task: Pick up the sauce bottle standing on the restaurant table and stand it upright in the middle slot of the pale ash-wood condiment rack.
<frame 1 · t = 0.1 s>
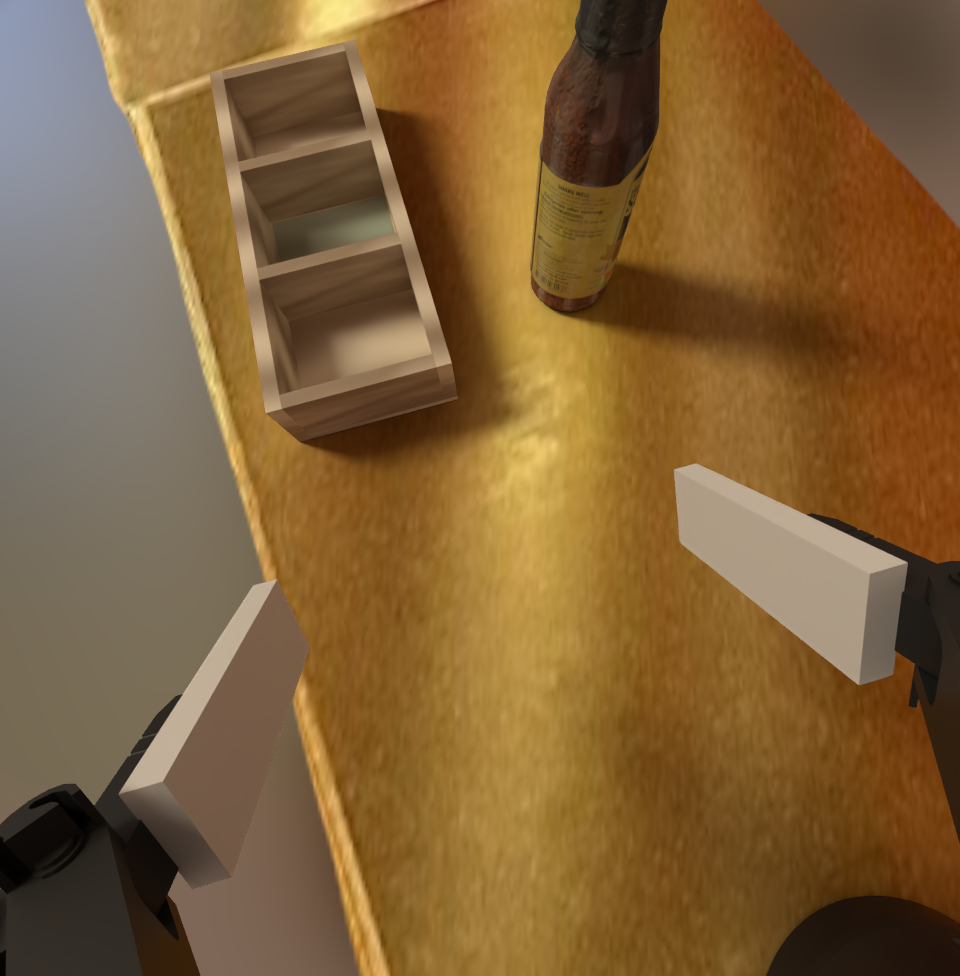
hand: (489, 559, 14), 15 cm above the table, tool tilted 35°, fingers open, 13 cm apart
sauce bottle: (566, 282, 35), on the table
condiment rack: (339, 254, 37), on the table
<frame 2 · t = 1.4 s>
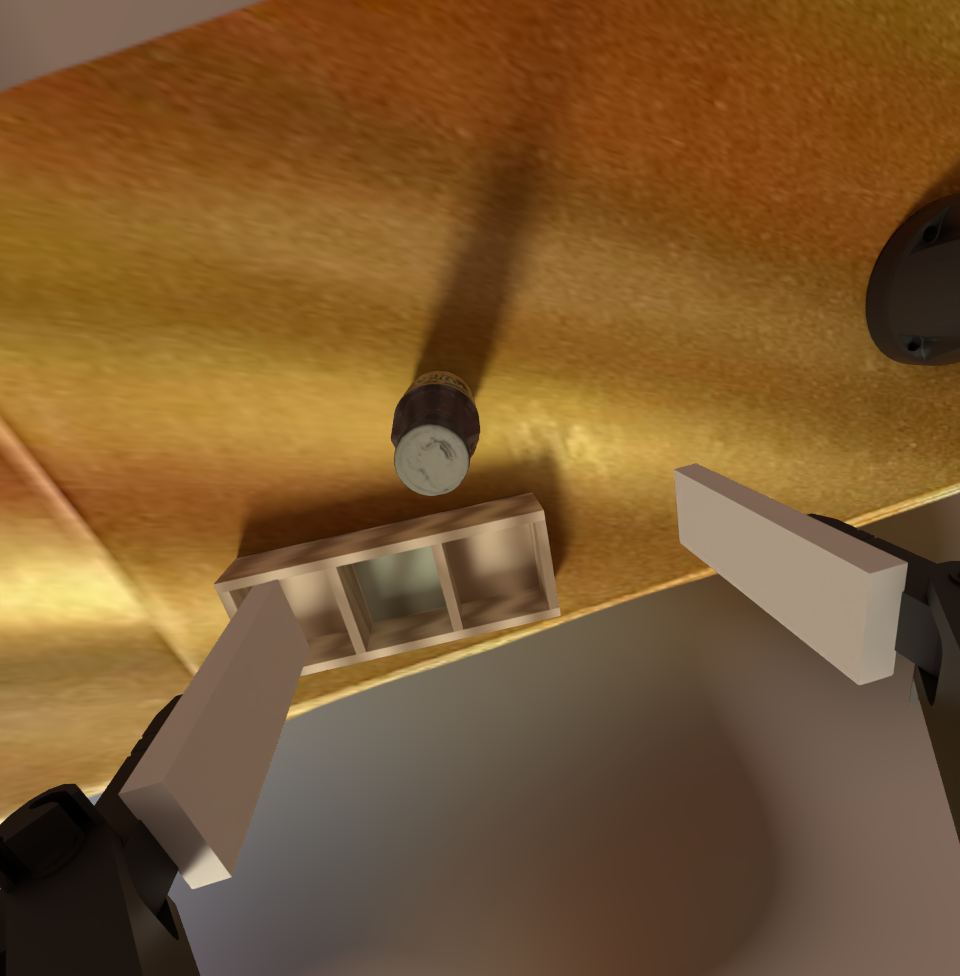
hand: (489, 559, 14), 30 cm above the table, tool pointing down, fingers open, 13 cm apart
sauce bottle: (437, 402, 42), on the table
condiment rack: (400, 574, 47), on the table
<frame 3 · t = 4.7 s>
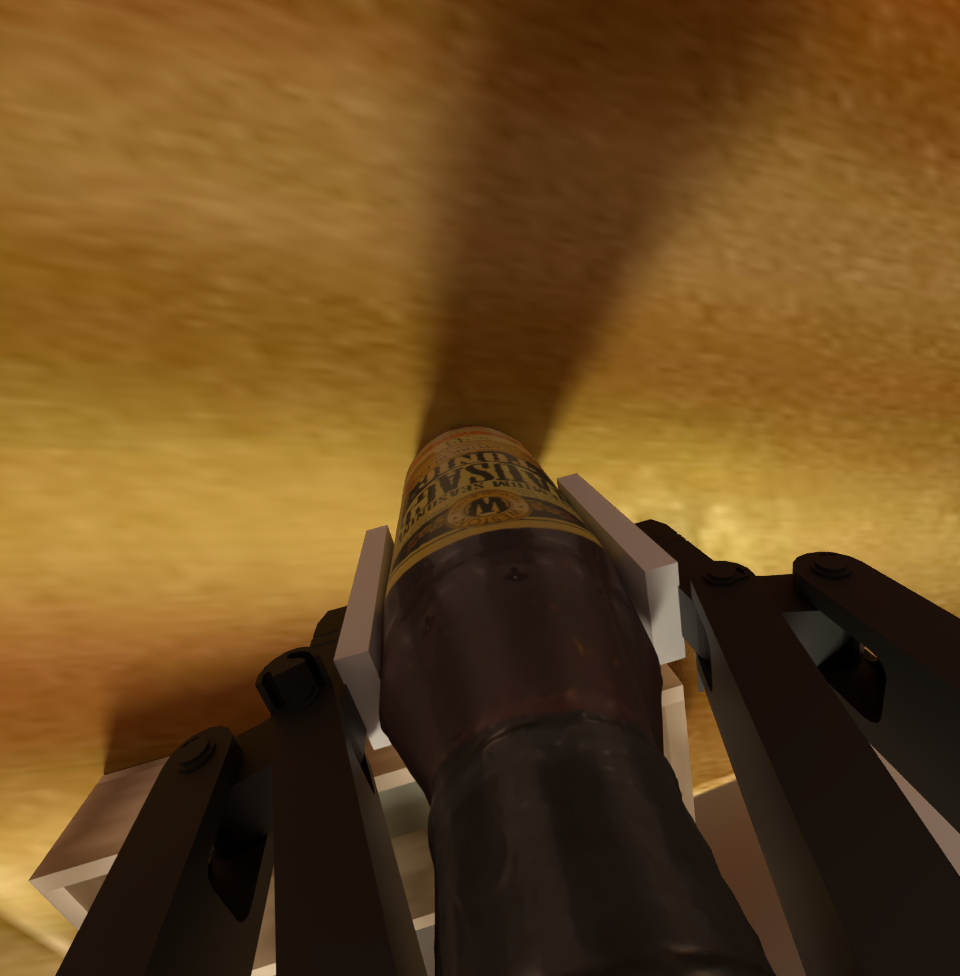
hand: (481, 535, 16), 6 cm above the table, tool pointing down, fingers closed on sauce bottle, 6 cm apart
sauce bottle: (464, 481, 22), on the table, touching gripper
condiment rack: (406, 768, 27), on the table
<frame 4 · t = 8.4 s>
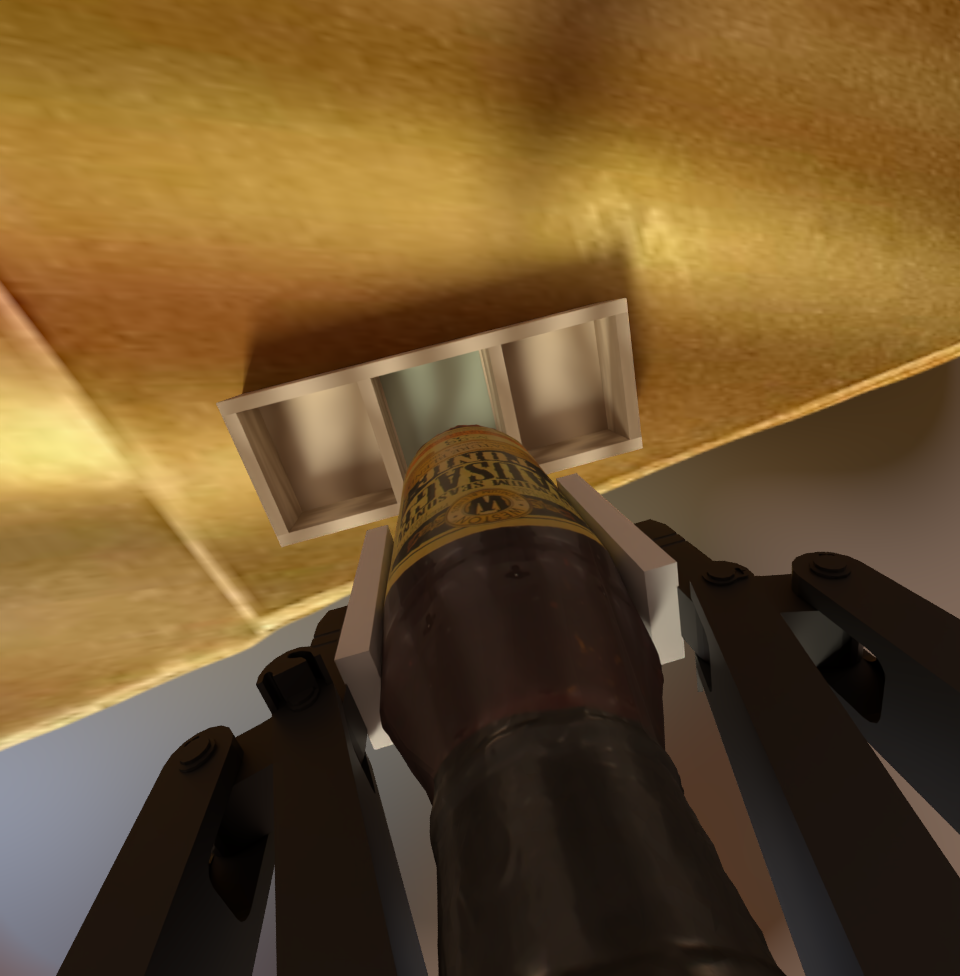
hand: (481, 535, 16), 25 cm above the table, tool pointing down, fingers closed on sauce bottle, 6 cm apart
sauce bottle: (463, 481, 22), point 19 cm above the table, touching gripper
condiment rack: (443, 416, 39), on the table
when the fingers open (8 cm above the table, at t = 12.2 s): sauce bottle drops 1 cm, resting on condiment rack.
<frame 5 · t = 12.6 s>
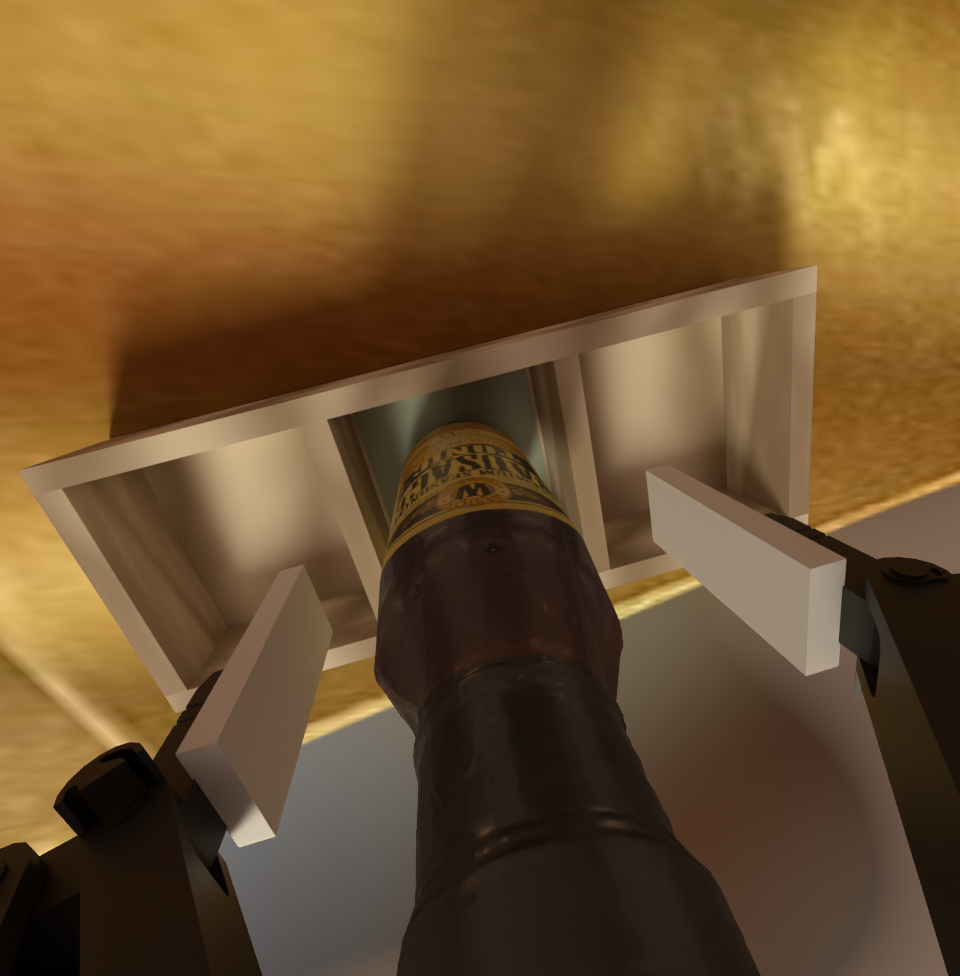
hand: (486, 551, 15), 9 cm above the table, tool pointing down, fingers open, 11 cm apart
sauce bottle: (458, 473, 23), resting on condiment rack
condiment rack: (461, 471, 23), on the table
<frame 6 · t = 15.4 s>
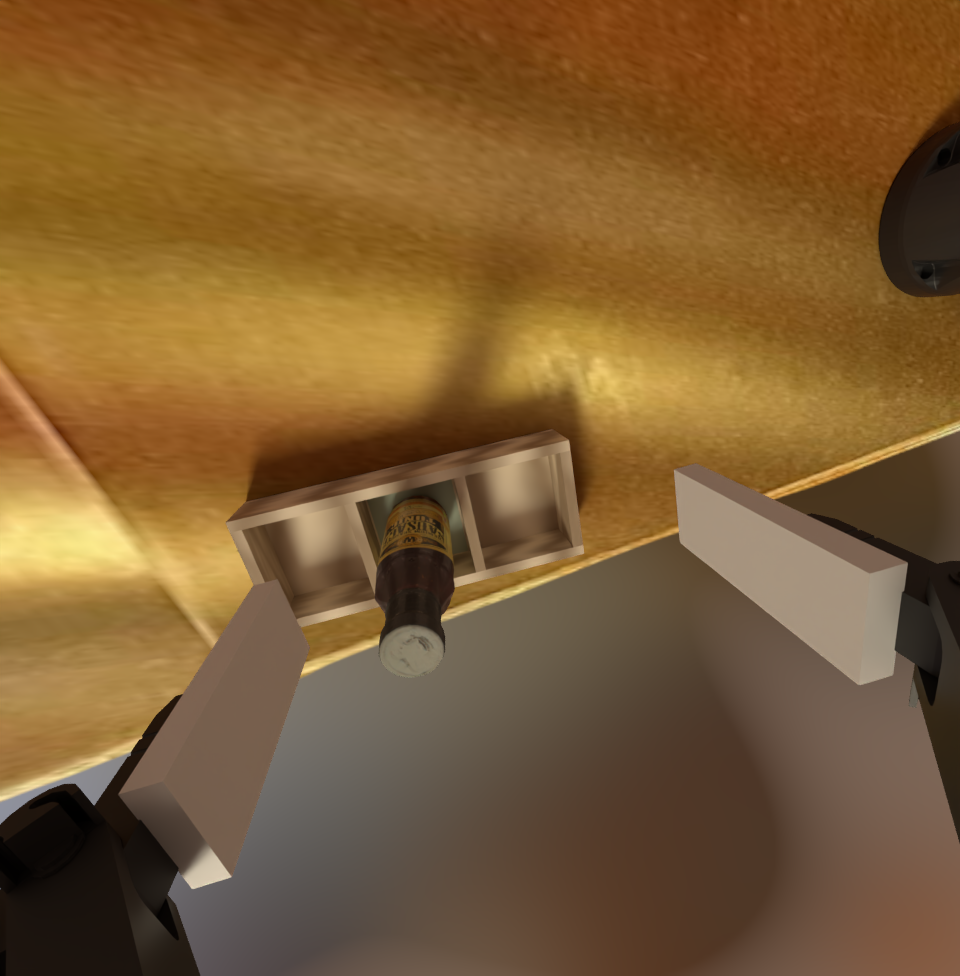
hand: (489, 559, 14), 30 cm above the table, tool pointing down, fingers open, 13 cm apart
sauce bottle: (416, 520, 45), resting on condiment rack
condiment rack: (417, 518, 46), on the table
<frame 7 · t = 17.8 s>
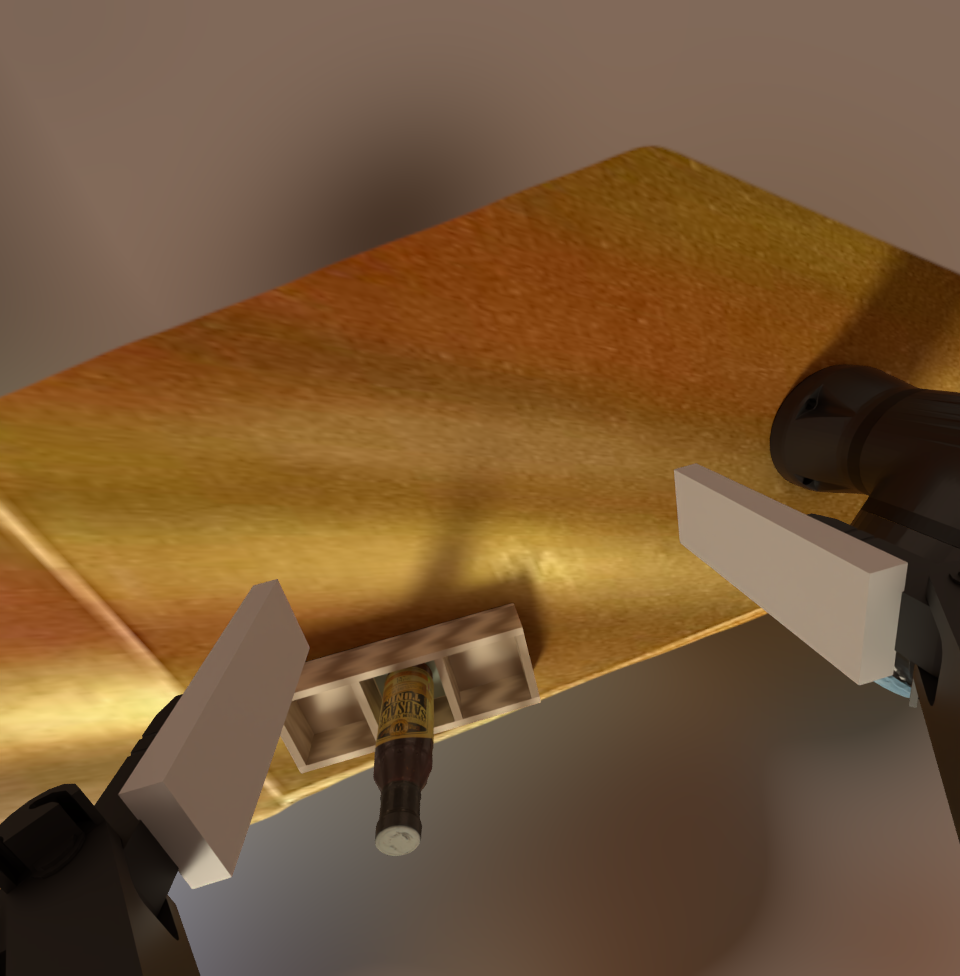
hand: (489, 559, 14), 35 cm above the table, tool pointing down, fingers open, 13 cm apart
sauce bottle: (408, 674, 57), resting on condiment rack
condiment rack: (409, 672, 58), on the table
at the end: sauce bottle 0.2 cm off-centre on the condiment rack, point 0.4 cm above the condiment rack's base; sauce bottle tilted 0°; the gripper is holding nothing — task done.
